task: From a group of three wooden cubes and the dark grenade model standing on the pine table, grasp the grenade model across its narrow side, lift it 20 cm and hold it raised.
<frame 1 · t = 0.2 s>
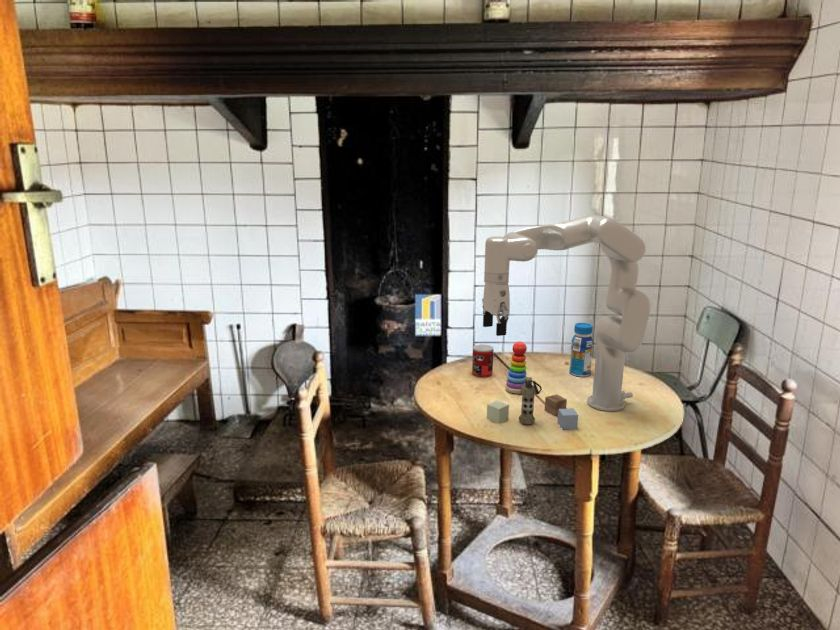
hand: (494, 330, 200), 31 cm above the table, tool pointing down, fingers open, 9 cm apart
sage cube: (497, 418, 210), on the table
grenade model: (529, 421, 208), on the table
walnut cube: (555, 411, 216), on the table
stacking toy: (516, 390, 234), on the table
canned food: (482, 374, 249), on the table
slate blue cube: (567, 426, 205), on the table
beverage bottle: (579, 374, 251), on the table
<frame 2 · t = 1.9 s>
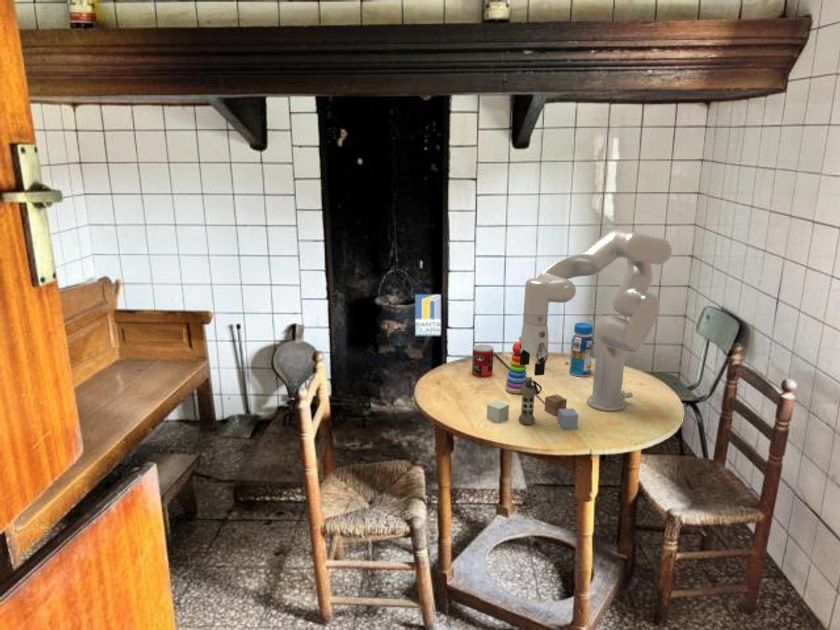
hand: (531, 369, 203), 18 cm above the table, tool pointing down, fingers open, 9 cm apart
nothing on the table moved.
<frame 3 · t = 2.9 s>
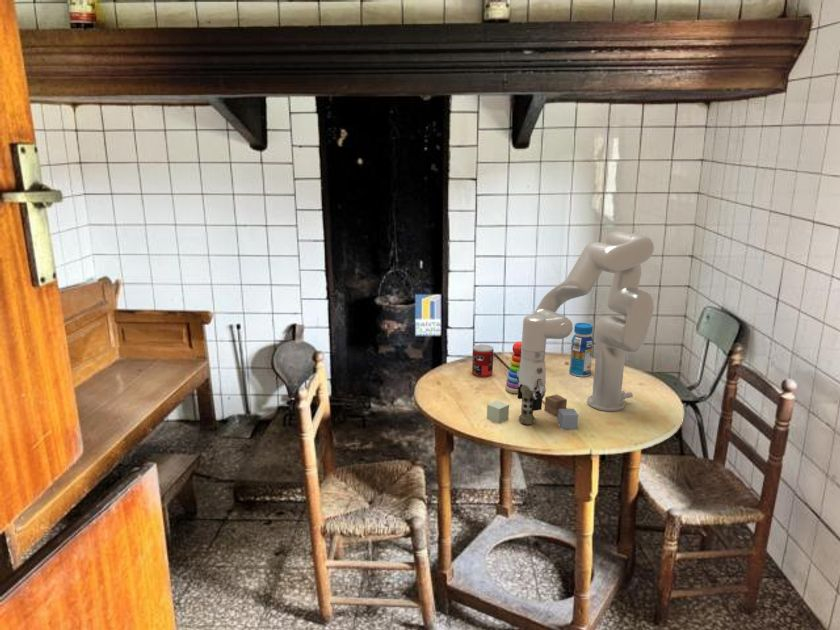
hand: (529, 404, 207), 6 cm above the table, tool pointing down, fingers open, 9 cm apart
nothing on the table moved.
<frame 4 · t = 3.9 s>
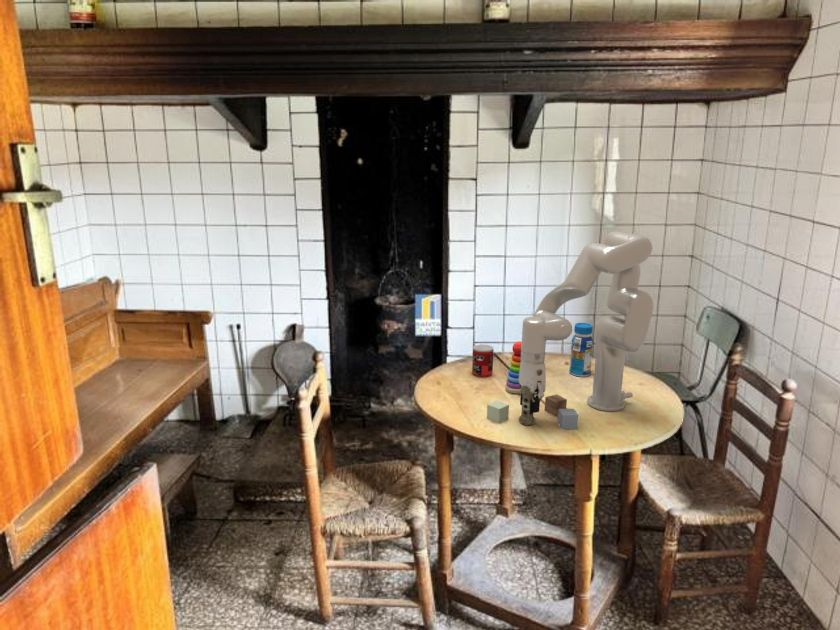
hand: (529, 407, 207), 5 cm above the table, tool pointing down, fingers closed on grenade model, 5 cm apart
grenade model: (529, 422, 208), on the table, touching gripper
everything else where it was.
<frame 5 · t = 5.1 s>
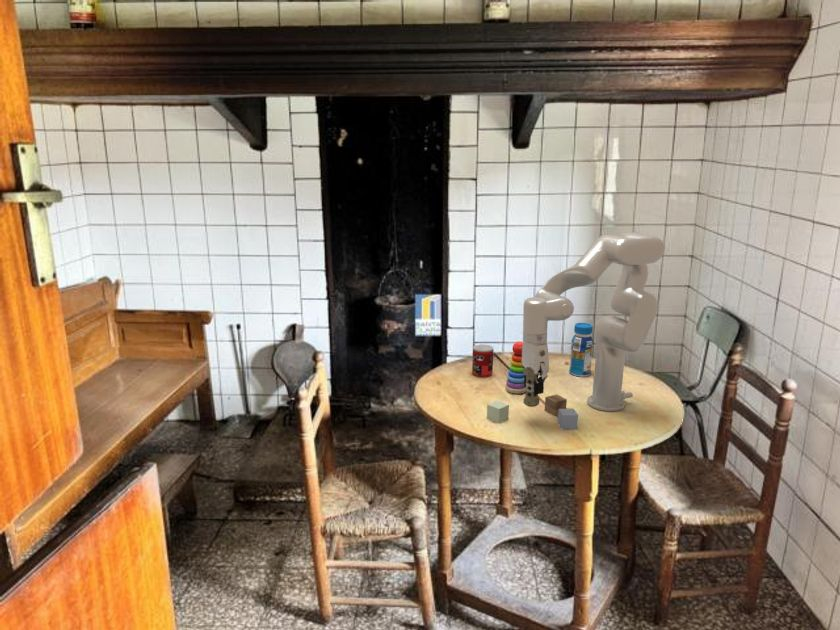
hand: (533, 389, 206), 11 cm above the table, tool pointing down, fingers closed on grenade model, 5 cm apart
grenade model: (533, 403, 207), point 6 cm above the table, touching gripper
everything else where it was.
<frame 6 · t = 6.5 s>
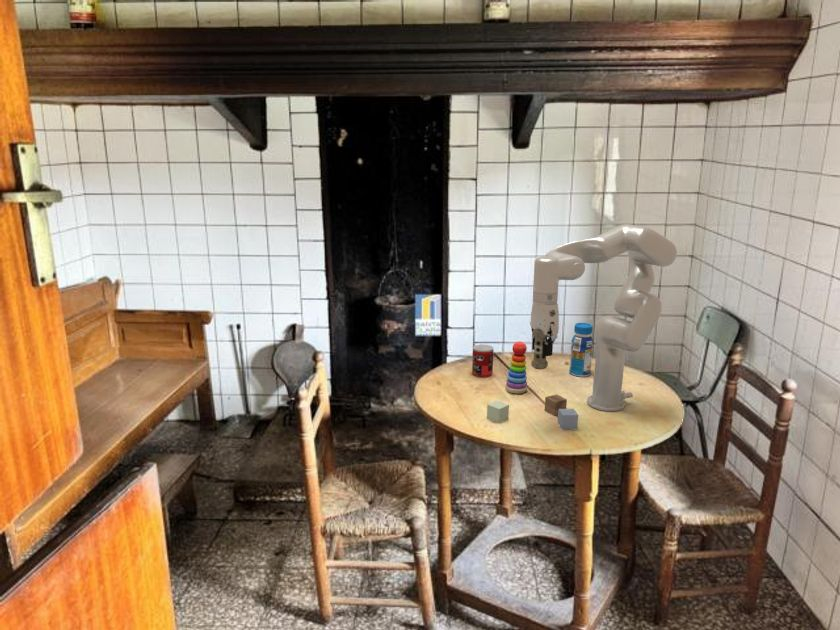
hand: (542, 351, 201), 24 cm above the table, tool pointing down, fingers closed on grenade model, 5 cm apart
grenade model: (541, 366, 202), point 19 cm above the table, touching gripper
everything else where it was.
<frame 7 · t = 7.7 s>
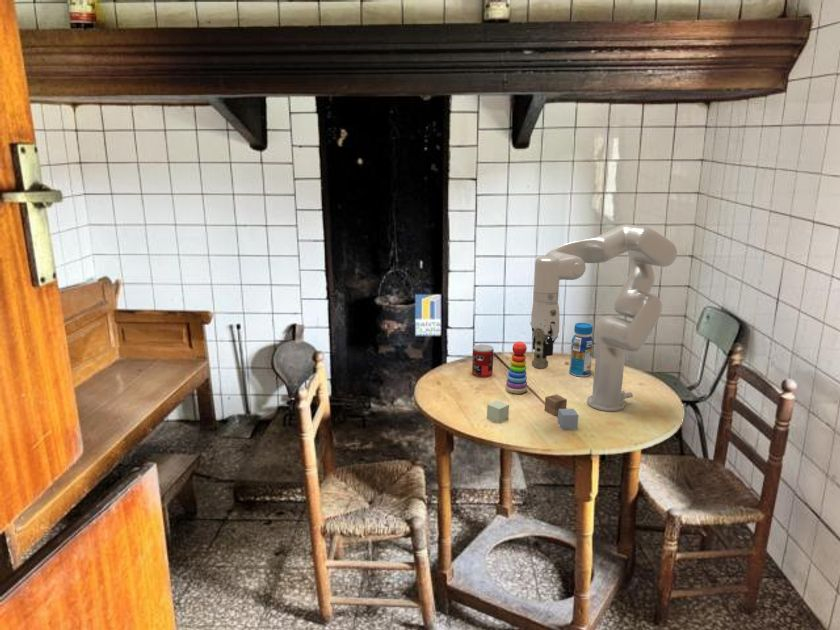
hand: (542, 351, 201), 24 cm above the table, tool pointing down, fingers closed on grenade model, 5 cm apart
grenade model: (542, 366, 202), point 19 cm above the table, touching gripper
everything else where it was.
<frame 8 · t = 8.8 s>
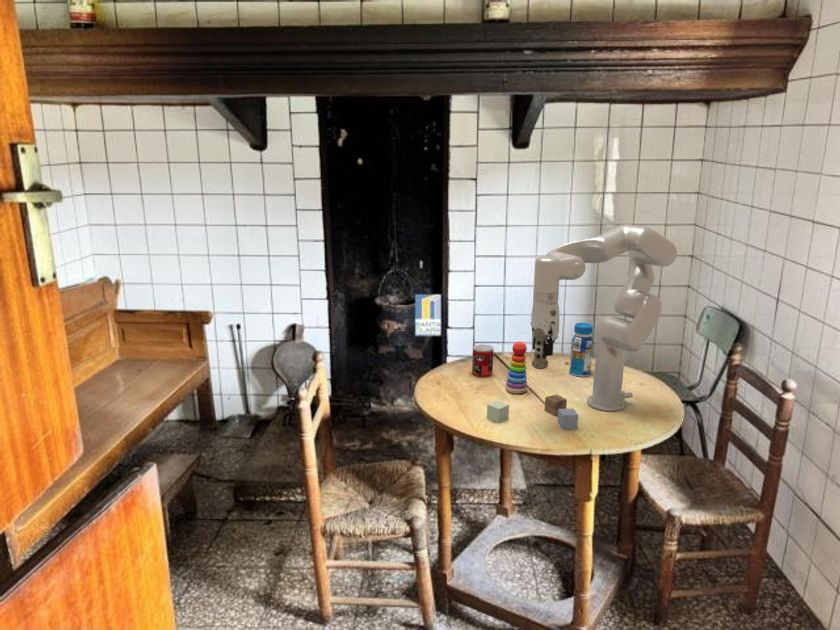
hand: (542, 351, 201), 24 cm above the table, tool pointing down, fingers closed on grenade model, 5 cm apart
grenade model: (542, 366, 202), point 19 cm above the table, touching gripper
everything else where it was.
at the end: the gripper is holding grenade model; grenade model point 19.5 cm above the table; walnut cube moved 0.1 cm from its start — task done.
